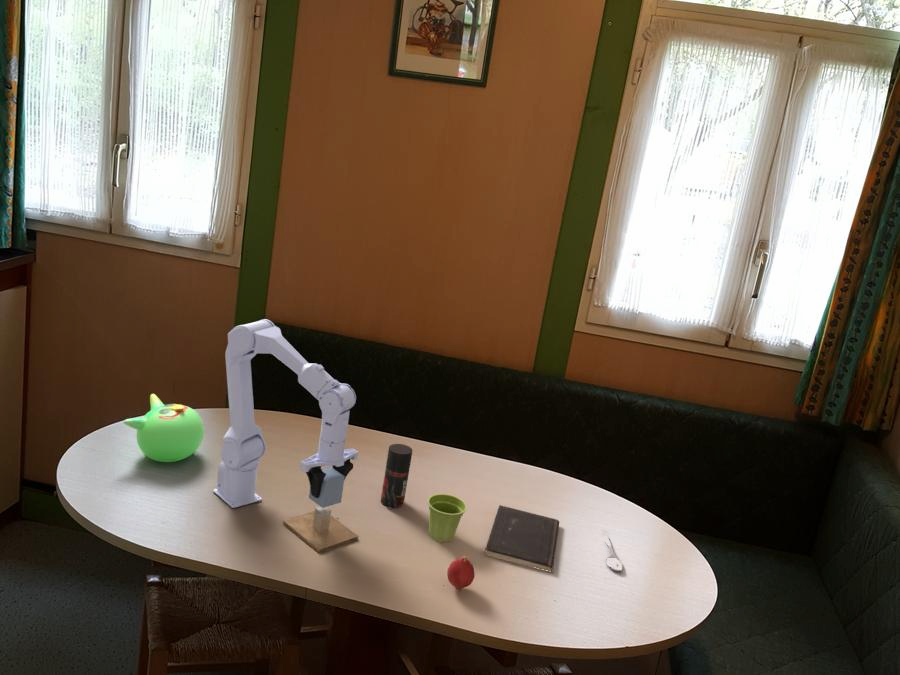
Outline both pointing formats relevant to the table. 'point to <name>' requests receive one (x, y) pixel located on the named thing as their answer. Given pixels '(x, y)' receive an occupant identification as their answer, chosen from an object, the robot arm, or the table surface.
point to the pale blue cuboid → (330, 488)
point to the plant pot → (444, 516)
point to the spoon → (613, 557)
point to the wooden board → (320, 529)
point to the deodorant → (396, 475)
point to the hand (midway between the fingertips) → (325, 493)
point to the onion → (461, 573)
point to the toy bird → (168, 431)
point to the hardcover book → (523, 538)
